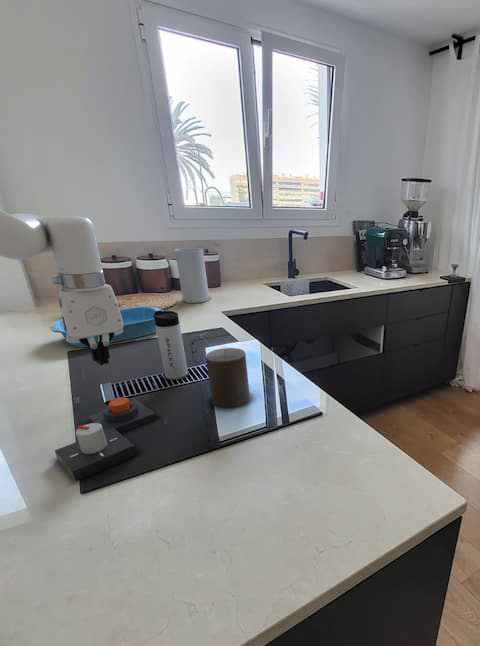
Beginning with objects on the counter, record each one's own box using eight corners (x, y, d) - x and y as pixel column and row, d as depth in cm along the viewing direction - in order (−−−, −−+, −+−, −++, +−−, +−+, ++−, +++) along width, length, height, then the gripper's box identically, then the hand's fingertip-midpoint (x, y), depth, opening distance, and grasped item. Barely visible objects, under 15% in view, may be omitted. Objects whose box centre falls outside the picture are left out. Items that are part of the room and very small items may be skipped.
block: (107, 440, 87) (103, 425, 85) (90, 424, 93) (85, 409, 91) (157, 420, 95) (154, 406, 93) (138, 407, 101) (135, 393, 99)
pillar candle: (231, 414, 98) (224, 359, 92) (204, 404, 103) (195, 351, 97) (258, 398, 106) (253, 347, 100) (232, 390, 111) (226, 340, 104)
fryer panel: (76, 484, 74) (71, 470, 73) (58, 462, 80) (54, 449, 78) (136, 457, 82) (133, 444, 81) (116, 439, 87) (113, 427, 86)
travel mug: (177, 371, 121) (166, 308, 113) (193, 375, 119) (182, 311, 110) (160, 378, 116) (147, 313, 108) (175, 383, 113) (163, 316, 105)
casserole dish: (62, 355, 130) (55, 335, 127) (50, 338, 145) (44, 319, 142) (175, 332, 153) (172, 315, 151) (155, 319, 168) (152, 303, 165)
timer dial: (112, 442, 81) (106, 422, 79) (95, 455, 77) (89, 434, 75) (93, 440, 82) (87, 420, 80) (76, 452, 78) (69, 432, 76)
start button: (115, 415, 90) (113, 407, 89) (108, 409, 92) (105, 402, 91) (133, 409, 93) (131, 401, 92) (126, 403, 95) (124, 396, 94)
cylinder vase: (213, 300, 200) (207, 250, 190) (189, 304, 191) (181, 252, 181) (202, 296, 208) (195, 247, 197) (178, 300, 199) (170, 249, 189)
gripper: (44, 288, 73) (69, 377, 80) (129, 279, 84) (144, 358, 91) (32, 281, 77) (57, 367, 84) (115, 273, 88) (130, 350, 95)
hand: (102, 362), depth 88 cm, fingers closed
